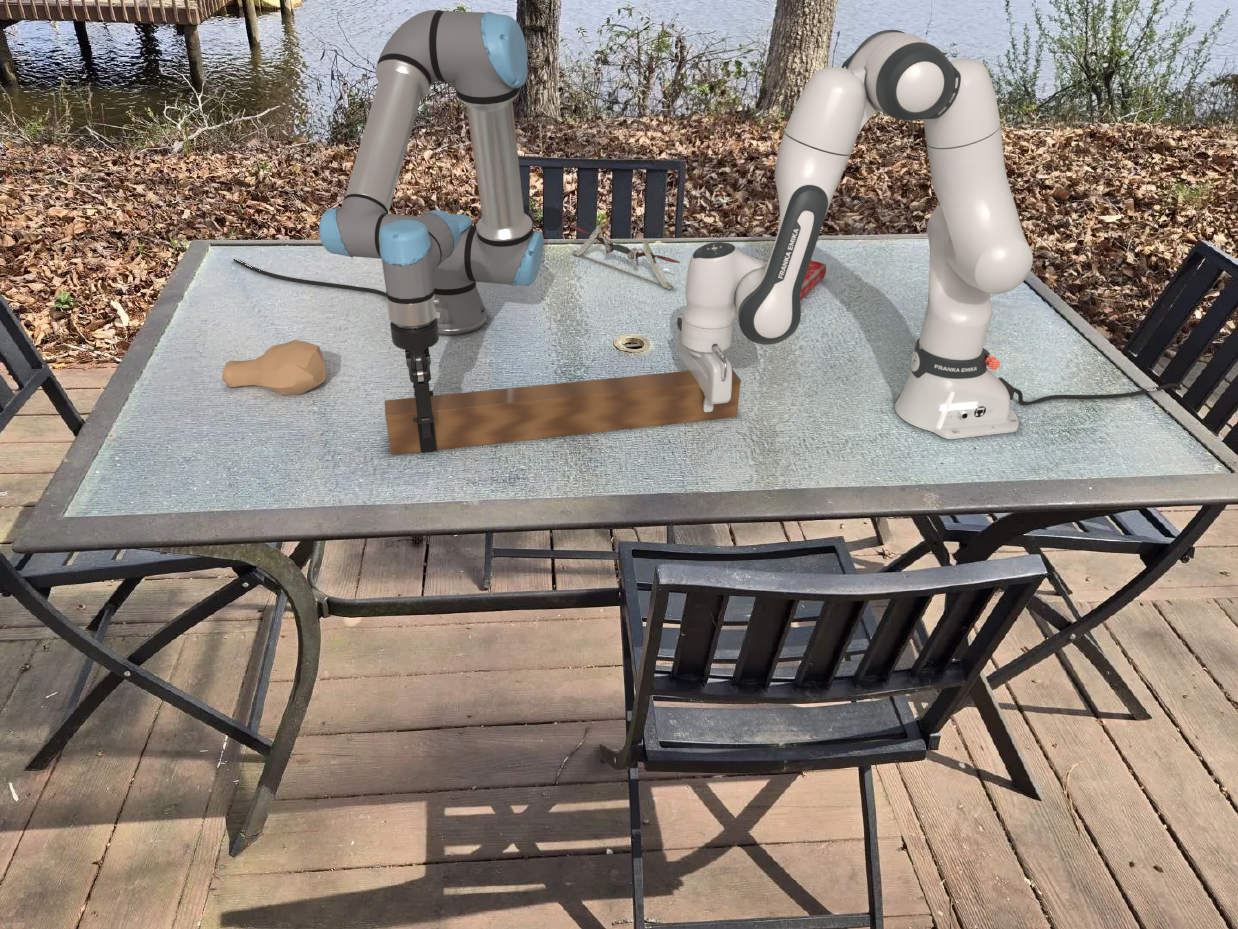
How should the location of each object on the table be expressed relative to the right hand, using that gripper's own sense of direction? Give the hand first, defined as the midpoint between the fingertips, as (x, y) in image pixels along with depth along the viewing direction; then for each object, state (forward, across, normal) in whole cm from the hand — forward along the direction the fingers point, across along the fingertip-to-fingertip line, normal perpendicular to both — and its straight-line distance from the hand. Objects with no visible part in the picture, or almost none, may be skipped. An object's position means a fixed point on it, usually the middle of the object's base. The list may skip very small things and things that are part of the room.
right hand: (701, 401), depth 164 cm
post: (+3, 0, +25) cm, 26 cm away
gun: (+3, +53, -36) cm, 64 cm away
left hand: (+2, 0, +51) cm, 51 cm away
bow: (+3, +73, -3) cm, 73 cm away
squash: (+3, +26, +78) cm, 82 cm away
